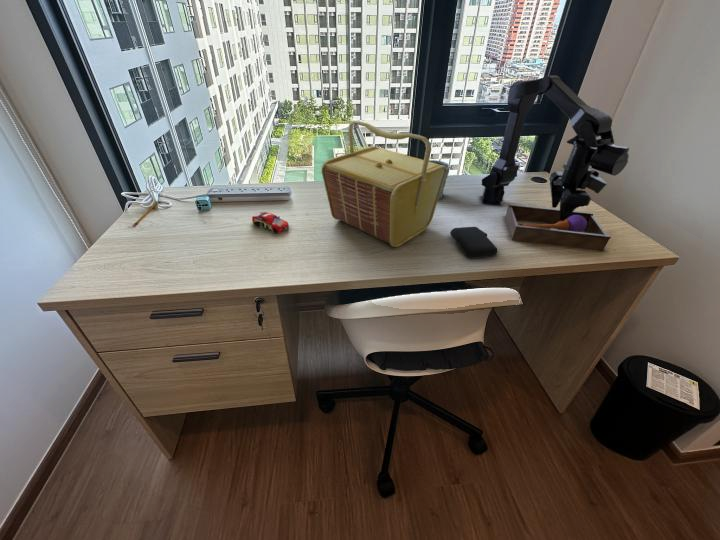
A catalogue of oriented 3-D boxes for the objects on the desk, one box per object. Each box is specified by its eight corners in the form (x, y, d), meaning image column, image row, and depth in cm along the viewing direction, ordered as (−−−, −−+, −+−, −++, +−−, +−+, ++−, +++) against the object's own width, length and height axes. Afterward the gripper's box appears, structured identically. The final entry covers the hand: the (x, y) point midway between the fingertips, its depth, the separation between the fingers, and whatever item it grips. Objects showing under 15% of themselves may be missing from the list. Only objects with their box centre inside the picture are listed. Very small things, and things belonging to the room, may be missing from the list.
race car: (292, 229, 105) (291, 218, 102) (280, 236, 101) (279, 225, 99) (263, 218, 110) (261, 207, 108) (250, 224, 107) (248, 213, 104)
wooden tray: (511, 240, 101) (516, 226, 98) (504, 217, 114) (508, 203, 111) (603, 251, 97) (611, 237, 94) (586, 226, 109) (592, 212, 106)
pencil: (135, 227, 104) (133, 225, 104) (132, 227, 104) (131, 225, 104) (160, 201, 119) (159, 199, 119) (158, 201, 119) (157, 199, 119)
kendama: (518, 216, 105) (580, 211, 105) (515, 234, 108) (576, 229, 108) (527, 222, 100) (593, 217, 100) (524, 240, 102) (588, 235, 103)
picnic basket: (440, 226, 108) (458, 129, 90) (391, 258, 92) (400, 149, 74) (373, 199, 123) (377, 112, 106) (321, 223, 108) (315, 125, 90)
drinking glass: (412, 192, 129) (416, 162, 122) (433, 188, 133) (438, 158, 126) (428, 202, 122) (433, 171, 115) (450, 197, 126) (456, 166, 119)
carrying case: (502, 258, 93) (479, 232, 105) (505, 249, 91) (481, 223, 103) (466, 261, 92) (447, 234, 103) (469, 252, 90) (449, 225, 102)
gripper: (624, 178, 83) (596, 232, 93) (598, 155, 98) (577, 204, 107) (576, 174, 85) (554, 227, 95) (558, 152, 100) (540, 200, 109)
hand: (557, 213), depth 101 cm, fingers open, 9 cm apart
